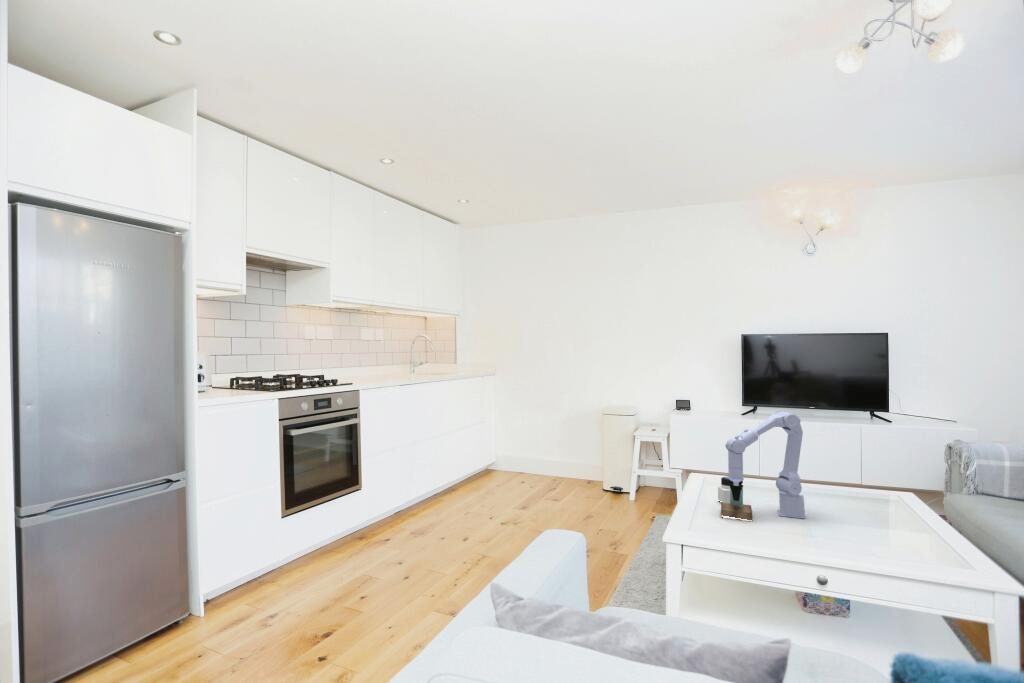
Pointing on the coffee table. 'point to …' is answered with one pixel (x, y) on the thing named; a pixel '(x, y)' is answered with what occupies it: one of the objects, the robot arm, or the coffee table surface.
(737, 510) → the walnut block
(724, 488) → the medicine bottle
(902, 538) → the coffee table surface
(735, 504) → the teal tin
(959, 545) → the coffee table surface
